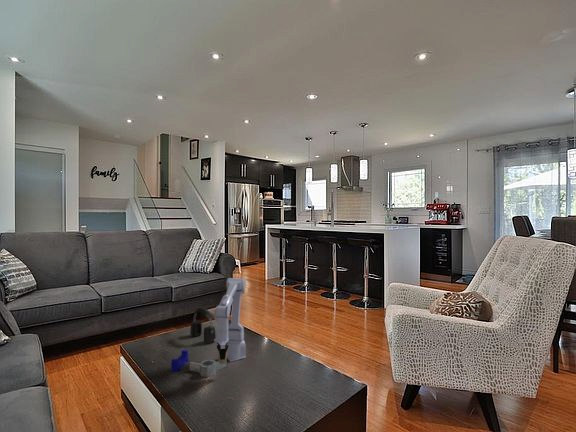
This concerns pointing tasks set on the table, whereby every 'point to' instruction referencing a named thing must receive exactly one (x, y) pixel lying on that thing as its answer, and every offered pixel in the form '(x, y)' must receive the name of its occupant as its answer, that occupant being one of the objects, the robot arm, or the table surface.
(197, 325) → the headphones
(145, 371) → the table surface
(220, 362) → the brass pin
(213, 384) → the table surface
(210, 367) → the steel hinge
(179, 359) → the cable clip
